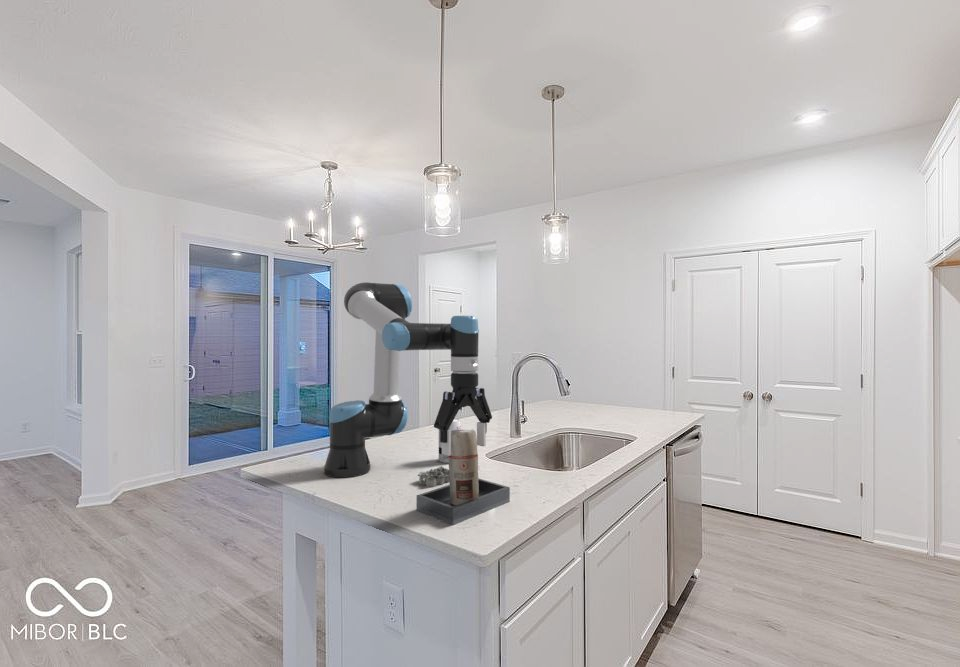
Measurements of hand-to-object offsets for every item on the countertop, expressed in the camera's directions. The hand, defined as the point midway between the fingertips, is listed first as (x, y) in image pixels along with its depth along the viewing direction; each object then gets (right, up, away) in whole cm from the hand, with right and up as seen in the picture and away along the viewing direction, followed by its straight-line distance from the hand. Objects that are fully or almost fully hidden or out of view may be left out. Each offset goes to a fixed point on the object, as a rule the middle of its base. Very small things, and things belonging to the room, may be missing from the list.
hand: (464, 450), depth 127 cm
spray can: (0, -14, 0) cm, 14 cm away
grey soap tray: (0, -15, 0) cm, 15 cm away
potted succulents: (-10, -16, +21) cm, 28 cm away
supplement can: (-7, -16, +46) cm, 49 cm away
